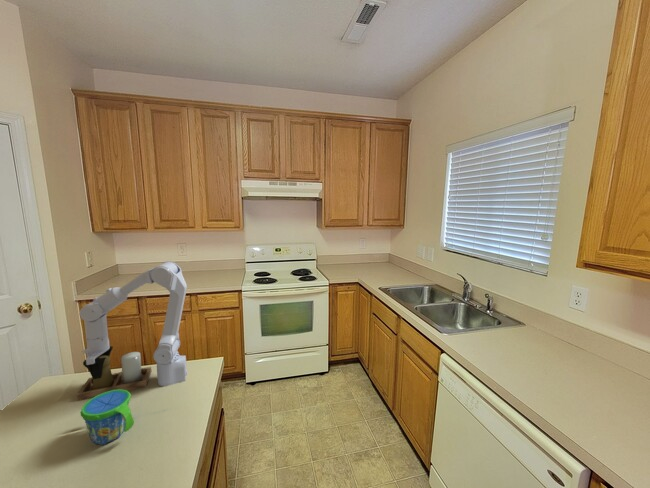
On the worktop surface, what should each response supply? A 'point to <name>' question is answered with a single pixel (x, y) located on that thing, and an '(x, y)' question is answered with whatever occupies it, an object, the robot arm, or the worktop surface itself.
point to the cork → (104, 376)
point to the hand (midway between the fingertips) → (100, 373)
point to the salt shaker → (131, 367)
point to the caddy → (89, 393)
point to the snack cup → (108, 416)
